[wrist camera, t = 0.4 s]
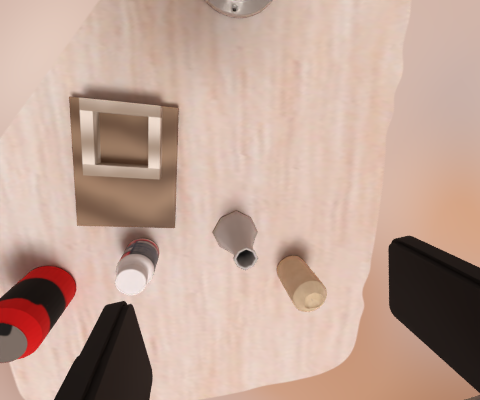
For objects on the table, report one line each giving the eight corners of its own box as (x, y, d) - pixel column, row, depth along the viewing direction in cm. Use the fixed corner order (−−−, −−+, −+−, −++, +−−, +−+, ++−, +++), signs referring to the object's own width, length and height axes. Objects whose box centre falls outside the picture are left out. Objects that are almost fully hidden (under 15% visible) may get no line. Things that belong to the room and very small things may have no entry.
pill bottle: (133, 232, 43) (118, 258, 35) (164, 244, 45) (157, 271, 36) (121, 260, 44) (103, 292, 36) (152, 271, 46) (142, 304, 37)
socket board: (73, 97, 37) (60, 94, 33) (178, 108, 40) (177, 106, 36) (81, 222, 42) (69, 231, 38) (175, 224, 44) (173, 233, 40)
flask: (233, 259, 47) (244, 292, 38) (204, 232, 45) (207, 260, 36) (264, 231, 47) (282, 257, 38) (236, 202, 45) (247, 223, 35)
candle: (280, 286, 50) (300, 323, 41) (273, 260, 49) (292, 293, 39) (307, 276, 51) (334, 310, 41) (301, 251, 49) (327, 280, 40)
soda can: (81, 270, 44) (41, 321, 32) (72, 310, 45) (31, 372, 34) (28, 260, 42) (-34, 310, 30) (21, 302, 43) (-41, 365, 32)
